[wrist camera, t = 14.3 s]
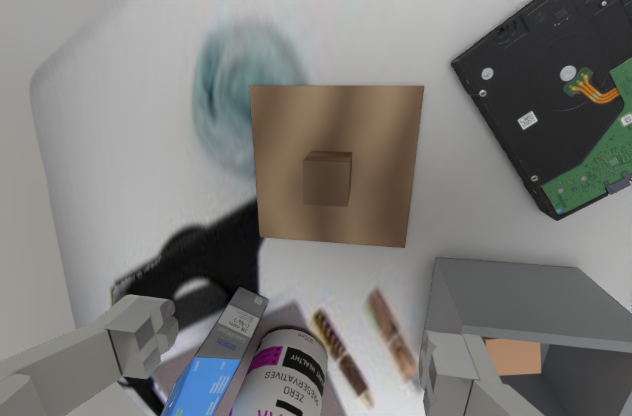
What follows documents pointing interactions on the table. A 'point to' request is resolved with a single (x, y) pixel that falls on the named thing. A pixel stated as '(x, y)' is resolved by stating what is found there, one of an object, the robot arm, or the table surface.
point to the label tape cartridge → (217, 358)
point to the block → (514, 356)
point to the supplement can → (284, 377)
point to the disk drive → (559, 98)
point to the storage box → (543, 330)
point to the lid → (335, 161)
